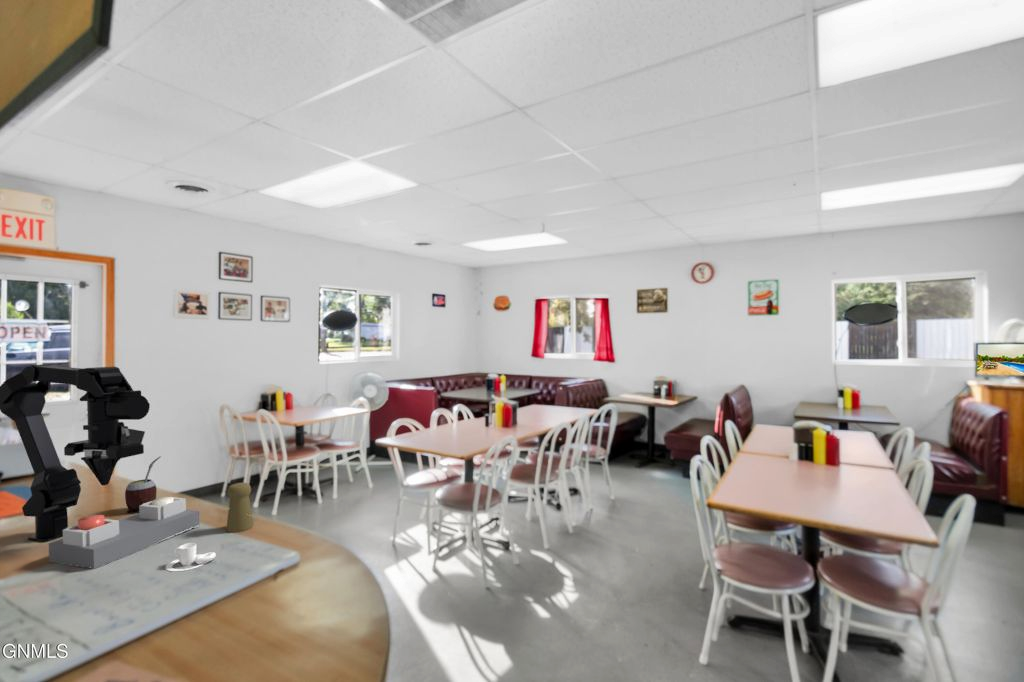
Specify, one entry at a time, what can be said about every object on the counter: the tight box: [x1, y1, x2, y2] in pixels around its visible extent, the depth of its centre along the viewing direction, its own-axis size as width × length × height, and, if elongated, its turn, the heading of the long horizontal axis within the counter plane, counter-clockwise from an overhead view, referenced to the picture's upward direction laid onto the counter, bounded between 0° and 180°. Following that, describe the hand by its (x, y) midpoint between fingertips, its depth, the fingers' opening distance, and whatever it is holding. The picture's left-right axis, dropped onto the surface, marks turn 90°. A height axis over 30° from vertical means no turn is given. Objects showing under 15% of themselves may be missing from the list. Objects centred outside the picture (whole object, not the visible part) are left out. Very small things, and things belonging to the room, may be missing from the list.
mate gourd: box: [124, 455, 161, 514], centre depth 140 cm, size 8×8×15 cm
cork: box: [225, 482, 254, 533], centre depth 124 cm, size 6×6×11 cm
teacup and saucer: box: [165, 542, 217, 572], centre depth 104 cm, size 9×8×4 cm
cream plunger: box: [152, 496, 174, 506], centre depth 124 cm, size 4×4×3 cm
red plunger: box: [77, 514, 105, 531], centre depth 109 cm, size 4×4×3 cm
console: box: [48, 496, 200, 569], centre depth 116 cm, size 14×24×7 cm, turn 162°
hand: (105, 484), depth 119 cm, fingers closed
